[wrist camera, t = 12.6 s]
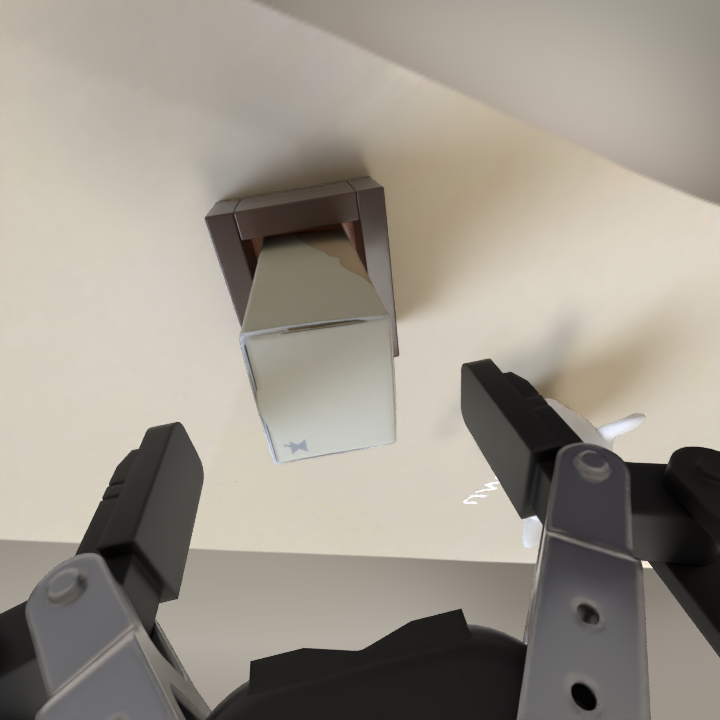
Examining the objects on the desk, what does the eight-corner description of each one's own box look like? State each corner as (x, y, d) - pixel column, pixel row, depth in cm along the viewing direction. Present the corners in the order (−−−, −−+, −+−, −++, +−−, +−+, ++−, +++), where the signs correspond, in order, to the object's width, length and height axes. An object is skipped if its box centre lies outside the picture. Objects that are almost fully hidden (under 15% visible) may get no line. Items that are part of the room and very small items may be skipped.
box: (353, 315, 23) (399, 452, 14) (278, 325, 22) (272, 474, 13) (344, 221, 20) (395, 314, 11) (259, 231, 20) (234, 336, 10)
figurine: (585, 349, 30) (502, 343, 24) (702, 423, 24) (629, 439, 18) (506, 461, 35) (423, 478, 30) (586, 544, 30) (502, 585, 24)
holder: (263, 351, 24) (259, 384, 21) (216, 202, 19) (203, 217, 16) (386, 328, 24) (399, 356, 21) (369, 175, 20) (383, 186, 17)
